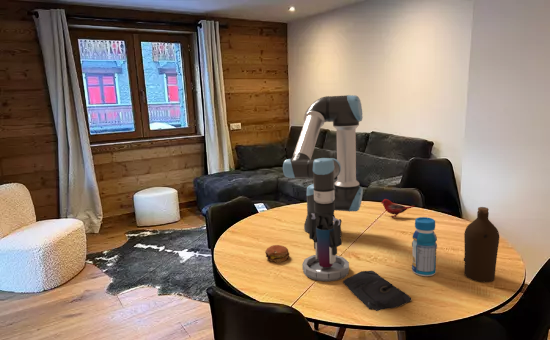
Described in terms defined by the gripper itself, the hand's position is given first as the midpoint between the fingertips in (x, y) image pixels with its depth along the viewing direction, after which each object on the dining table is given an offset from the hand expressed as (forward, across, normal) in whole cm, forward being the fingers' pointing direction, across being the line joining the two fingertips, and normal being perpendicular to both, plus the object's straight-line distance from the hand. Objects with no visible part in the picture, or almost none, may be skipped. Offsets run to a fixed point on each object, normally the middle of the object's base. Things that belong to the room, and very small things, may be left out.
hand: (325, 259), depth 142 cm
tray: (+4, 0, 0) cm, 4 cm away
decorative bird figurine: (+5, -9, +74) cm, 75 cm away
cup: (+2, 0, 0) cm, 2 cm away
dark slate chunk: (+5, +22, -2) cm, 23 cm away
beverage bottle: (+5, +28, +22) cm, 36 cm away
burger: (+5, -22, -3) cm, 23 cm away
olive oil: (+5, +44, +31) cm, 54 cm away
